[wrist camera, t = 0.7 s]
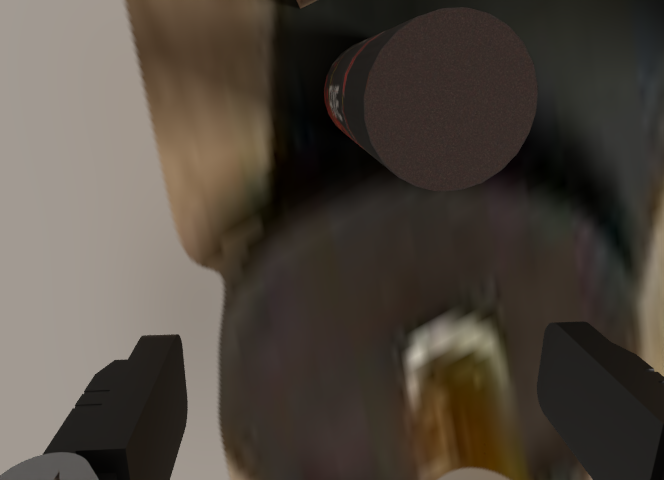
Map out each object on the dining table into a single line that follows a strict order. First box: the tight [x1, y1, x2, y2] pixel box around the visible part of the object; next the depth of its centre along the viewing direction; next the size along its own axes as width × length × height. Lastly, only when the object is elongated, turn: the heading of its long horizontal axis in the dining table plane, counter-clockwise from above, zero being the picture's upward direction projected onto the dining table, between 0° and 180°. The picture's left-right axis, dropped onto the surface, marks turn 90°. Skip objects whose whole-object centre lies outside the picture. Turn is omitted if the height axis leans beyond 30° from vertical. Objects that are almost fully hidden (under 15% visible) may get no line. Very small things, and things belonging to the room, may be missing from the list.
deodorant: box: [324, 7, 538, 191], centre depth 24 cm, size 6×6×15 cm
